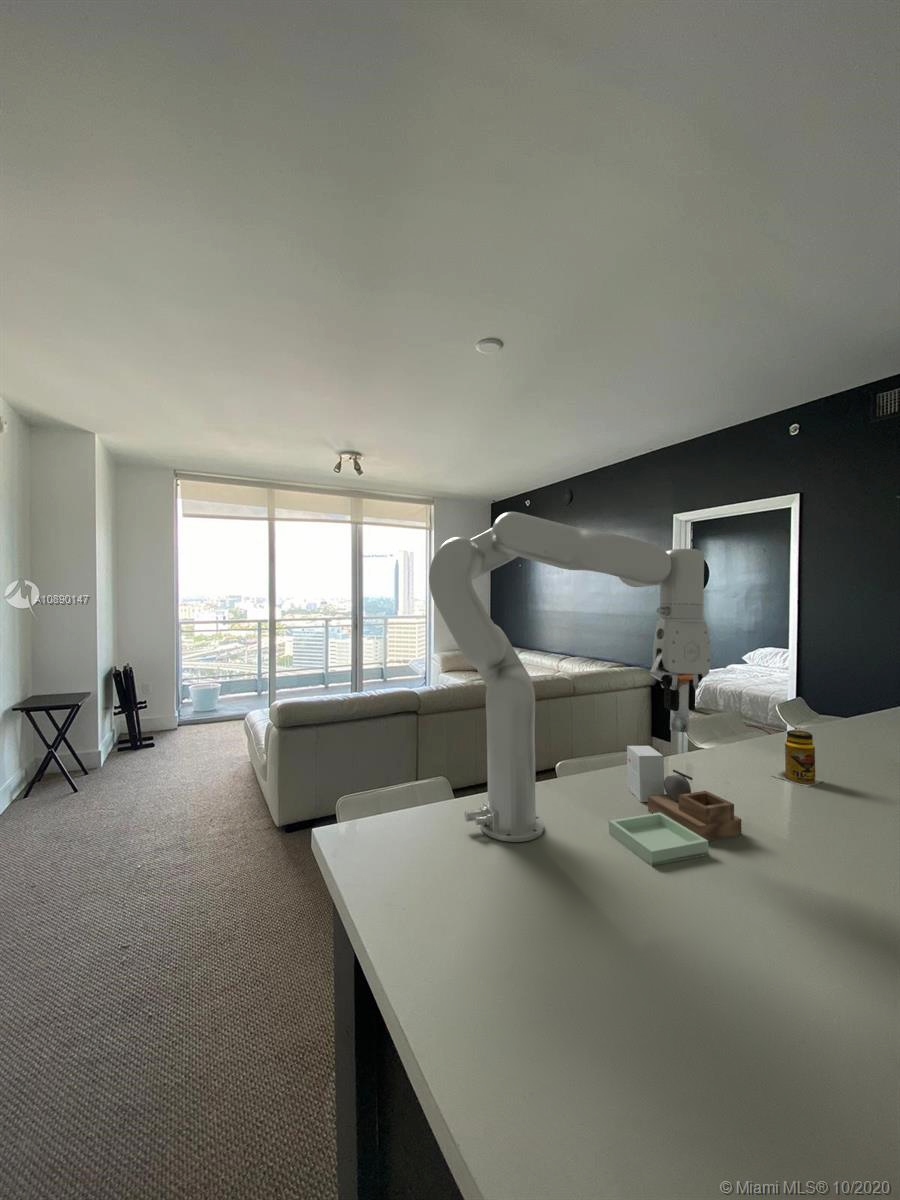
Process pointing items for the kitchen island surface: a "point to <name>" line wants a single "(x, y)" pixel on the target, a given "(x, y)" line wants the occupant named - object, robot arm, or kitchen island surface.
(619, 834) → the tray
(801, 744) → the condiment
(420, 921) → the kitchen island surface
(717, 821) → the brown wooden stepped holder
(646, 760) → the small box
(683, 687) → the lock pin
